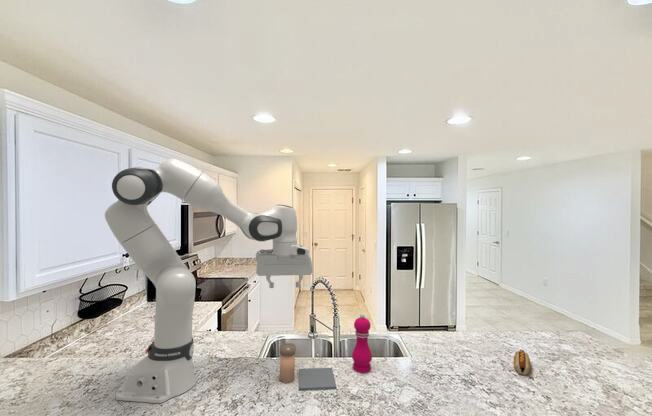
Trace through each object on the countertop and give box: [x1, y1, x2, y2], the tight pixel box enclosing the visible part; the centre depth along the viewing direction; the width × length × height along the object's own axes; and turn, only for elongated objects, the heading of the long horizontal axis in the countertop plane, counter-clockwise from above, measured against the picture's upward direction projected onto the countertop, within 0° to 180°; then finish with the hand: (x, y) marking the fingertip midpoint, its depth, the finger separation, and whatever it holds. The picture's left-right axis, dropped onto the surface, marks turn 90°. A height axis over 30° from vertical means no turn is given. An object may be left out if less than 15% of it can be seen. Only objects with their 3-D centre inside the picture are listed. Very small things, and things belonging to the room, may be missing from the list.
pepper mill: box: [351, 313, 373, 374], centre depth 110 cm, size 7×7×20 cm
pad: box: [298, 367, 337, 392], centre depth 102 cm, size 12×12×1 cm
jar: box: [279, 342, 297, 384], centre depth 103 cm, size 5×5×11 cm
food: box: [513, 349, 532, 376], centre depth 112 cm, size 14×6×5 cm, turn 148°
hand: (284, 287), depth 109 cm, fingers open, 8 cm apart
